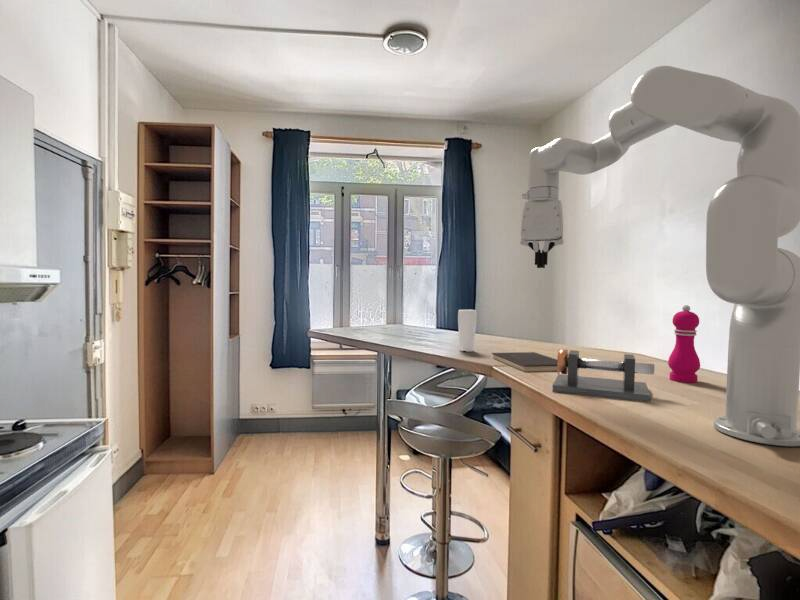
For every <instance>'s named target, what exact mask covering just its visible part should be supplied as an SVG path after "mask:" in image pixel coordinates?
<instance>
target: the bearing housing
mask: <svg viewBox="0 0 800 600" xmlns="http://www.w3.org/2000/svg"><path fill="white" fill-rule="evenodd" d="M578 358H580V350H571V349H570V350H569V351H568V371H567V375H566V374H558V373H557V376H556V378H555V379H554V382H553V383H552V392H555V393H563V394H570V395H571V394H573V395H580V396H590V397H597V398H598V397H599V398H606V399H607V398H608V399H616V400H617V399H618V400H627V401H637V402H643V403H644V402H645V403H651V398H652V394H651V392H650V390H649V388H648V385H647V382H643V381H635V378H636V377H635V376H636V375H635V374H636V373H635V363H636V358H635V355H634V354H629V353H628V354H627V353H625V354H623V362H625V369H624V372H622V373H623V374H622V377H623V378H622V379H613V378H612V379H611V378H603V377H602V378H601V377H591V376H580V375H579V369H580V368H578Z"/></svg>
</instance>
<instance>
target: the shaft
mask: <svg viewBox="0 0 800 600" xmlns="http://www.w3.org/2000/svg"><path fill="white" fill-rule="evenodd" d="M568 354H569V350H568V349H563V348H562V349H560V348H559V349H558V352H557V371H556V372H557V375H558V374H561V375H568V371H567V370H568ZM578 368H579V369H583V370H585V369H586V370H593V371H594V370H595V371H596V370H597V371H608V372H619V373H623V372H624V369H625V362H624V361H621V360H607V359H595V358H592V359H591V358H581V357H579V358H578ZM635 374H642V375H643V374H644V375H652V376H653V375H655V364H654V363H644V362H635Z"/></svg>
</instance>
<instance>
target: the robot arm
mask: <svg viewBox="0 0 800 600" xmlns="http://www.w3.org/2000/svg"><path fill="white" fill-rule="evenodd" d="M675 125H676V126H679V127H683V128H685V129H686V130H691V131H694V132H695V133H698V134H699V133H700V134H701V135H705V136H708V137H710V138H713V139H714V138H715V139H717V140H721V141H724V142H725V141H726V142H732V143H738V144H740V146H741V147H740V150H739V153H738V156H737V161H736V174H737V175H736V177H734V178H731V179H729V180H728V181H726V182H725V183H723V184H722V185H721V186H720V187H719V188H718V189H717V190H716V191H715V193H714V194H713V195H712V197H711V199H710V201H709V204H708V206H707V207H708V208H707V212H706V227H705V228H706V232H705V233H706V234H705V235H706V236H705V237H706V239H705V240H706V241H705V247H706V248H705V273H706V278H707V283H708V286H709V288H710V290H711V291H712V292H713V293H714V295H716V296H717V297H718V298H719V299H721V300H722V301H724V302H727V303H729V304H733V305H734V306H733V309H732V313H731V315H730V316H731V317H730V323H729V333H728V335H729V336H728V345H727V347H728V348H727V349H728V350H727V368H726V369H727V370H726V371H727V372H726V373H727V375H726V388H725V389H726V392H725V412H724V413H725V416H720V417H716V418H715V419H714V421H713V427H714V428H715V429H716V430H717V431H718V432H721V433H723V434H725V435H729V436H730V437H734V438H736V439H741V440H744V441H748V442H753V443H758V444H764V445H768V446H769V445H770V446H778V447H779V446H780V447H800V429H799V428H798V414H799V413H798V410H799V394H800V393H799V391H800V256H798V255H797V254H795V253H794V252H792V251H790V250H788V249H785V248H782V247H781V248H780V247H778V246H779V245H778V243H779V241H778V240H779V238H781V237H784V236H786V235H788V234H789V233H791V232H792V231H794V229H796V228H797V227H798V225H799V224H800V113H799V112H798V110H797V109H796V108H795V107H794V106H793V104H791V103H790V102H788V101H786V100H784V99H781V98H777V97H774V96H770V95H764V94H761V93H759V92H755V91H754V90H751V89H750V88H747V87H745V86H743V85H741V84H739V83H736V82H734V81H732V80H729V79H727V78H724V77H721V76H716V75H712V74H711V75H710V74H707V73H701V72H697V71H692V70H687V69H683V68H680V67H676V66H675V67H674V66H670V65H659V66H655V67H653V68H650V69H648V70H647V71H645V72H644V73H643V74H642V75H640V76H639V77H638V78H637V79H636V81H635V82H634V85H633V86H632V89H631V92H630V100H629V101H628V102H626V103H623V105H620V106H618V107H616V108H615V109H614V110H612V112H611V113H610V116H609V117H608V130H609V133H607V134H606V135H604V136H603V137H601V138H599V139H596V140H595V141H593V142H585V141H581V140H576V139H574V138H573V139H572V138H570V137H558V138H555V139H554V140H552V141H550V142H549V143H547V144H546V145H545V144H544V146H538V147H535V148H533V149H531V151H530V152H529V155H528V186H527V187H528V188H527V189H528V190H527V192H525V193H522V194H521V195H522V196H521V197H522V199H525V200H527V201H525V202H523V203H524V204H523V208H522V214H521V224H520V225H521V227H520V236H521V237H520V238H521V239H520V243H519V244H520V245H521V246H525V247H529V248H530V249H531V250H532V251H533V252H534V265H535V266H536V269H537V268H538V269H546V266H547V265H548V257H549V252H550V251H551V250H552V249H553V248H554V247H557V246H561V245H562V246H563V245H564V237H563V234H564V218H563V217H564V216H563V205H562V201H561V200H559V190H560V188H559V187H560V185H559V184H560V172H564V173H566V172H567V173H571V174H576V175H590V174H592V173H595V172H598V171H600V170H603V169H605V168H607V167H609V166H611V165H613V164H615V163H617V162H618V161H619V160H620V159H621V158H622V157H623V156H624V155H625V154H626V153H627V152H628V151H629V149H630V147H631V146H633V145H635V144H637V143H639V142H641V141H644V140H645V139H648V138H650V137H652V136H654V135H656V134H658V133H660V132H664V131H665V130H667V129H669V128H672V127H673V126H675ZM540 242H544V243H543V248H542V250H541V248H540Z"/></svg>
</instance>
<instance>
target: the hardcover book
mask: <svg viewBox="0 0 800 600" xmlns="http://www.w3.org/2000/svg"><path fill="white" fill-rule="evenodd" d="M491 354H492V358H493V359H495V360H497V361H499V362H501V363H503V364H506V365H508V366H510V367H513V368H515V369H517V370H519V371H522V372H524V373H525V372H557V359H558V358H557V359H556V358H554V357H550V356H548V355H544V354H541V353H538V352H535V351H534V352H533V351H532V352H531V351H529V352H527V351H526V352H525V351H524V352H523V351H522V352H520V351H519V352H491ZM567 372H568V370H567Z"/></svg>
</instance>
